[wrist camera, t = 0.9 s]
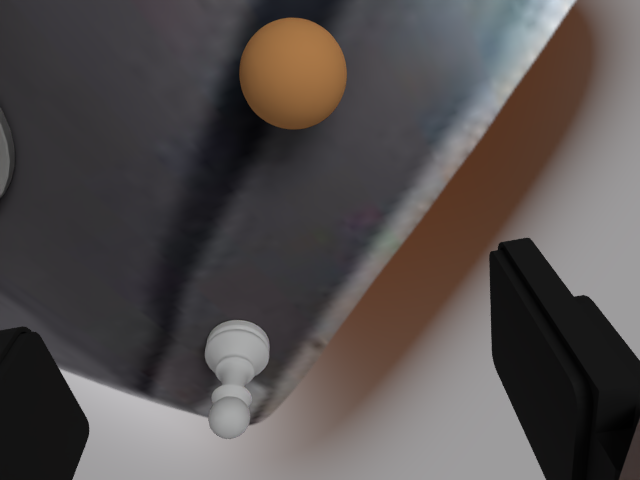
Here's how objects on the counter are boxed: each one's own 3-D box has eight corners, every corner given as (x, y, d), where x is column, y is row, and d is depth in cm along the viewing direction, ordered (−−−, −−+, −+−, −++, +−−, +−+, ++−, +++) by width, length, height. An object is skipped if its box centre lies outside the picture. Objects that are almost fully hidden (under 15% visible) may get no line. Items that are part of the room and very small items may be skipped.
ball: (316, 125, 36) (320, 161, 31) (229, 86, 35) (218, 117, 29) (359, 37, 33) (371, 60, 28) (266, -9, 32) (261, 6, 27)
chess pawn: (215, 312, 43) (198, 399, 36) (277, 326, 44) (274, 414, 37) (200, 359, 46) (182, 450, 38) (260, 371, 47) (254, 463, 39)
